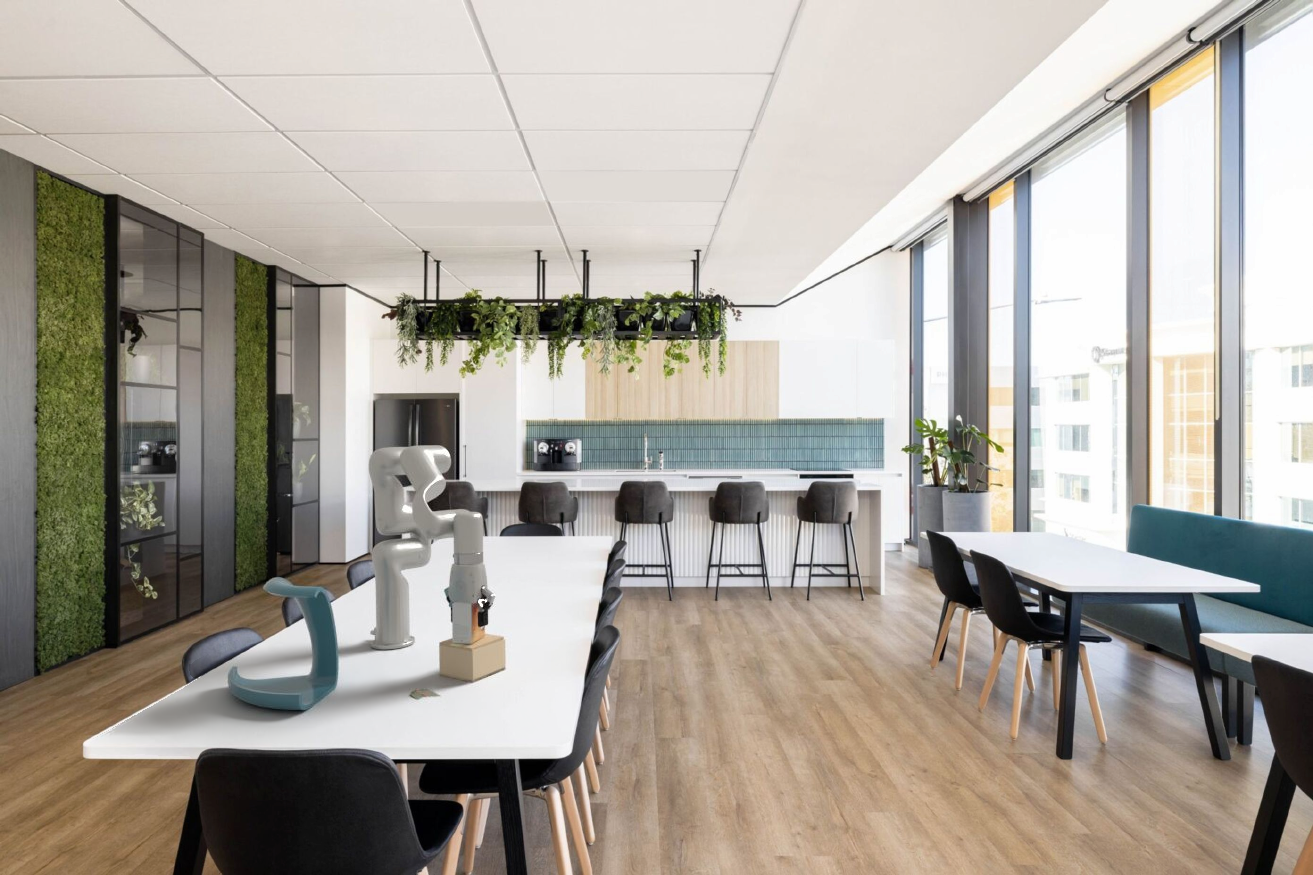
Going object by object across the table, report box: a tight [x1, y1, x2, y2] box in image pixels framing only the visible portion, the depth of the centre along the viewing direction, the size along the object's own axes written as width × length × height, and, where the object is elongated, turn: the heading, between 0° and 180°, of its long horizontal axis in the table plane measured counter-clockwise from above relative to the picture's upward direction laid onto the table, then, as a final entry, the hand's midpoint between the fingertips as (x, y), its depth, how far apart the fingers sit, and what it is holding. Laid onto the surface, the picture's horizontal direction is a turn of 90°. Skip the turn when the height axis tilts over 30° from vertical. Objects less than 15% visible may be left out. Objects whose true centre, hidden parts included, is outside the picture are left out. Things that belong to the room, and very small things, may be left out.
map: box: [409, 687, 441, 700], centre depth 170 cm, size 5×20×1 cm, turn 47°
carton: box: [438, 638, 506, 683], centre depth 191 cm, size 12×12×8 cm
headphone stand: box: [227, 576, 340, 711], centre depth 176 cm, size 26×28×28 cm
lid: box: [439, 633, 505, 651], centre depth 191 cm, size 12×12×1 cm
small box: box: [451, 602, 486, 644], centre depth 190 cm, size 8×6×10 cm
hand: (469, 623), depth 190 cm, fingers open, 9 cm apart
